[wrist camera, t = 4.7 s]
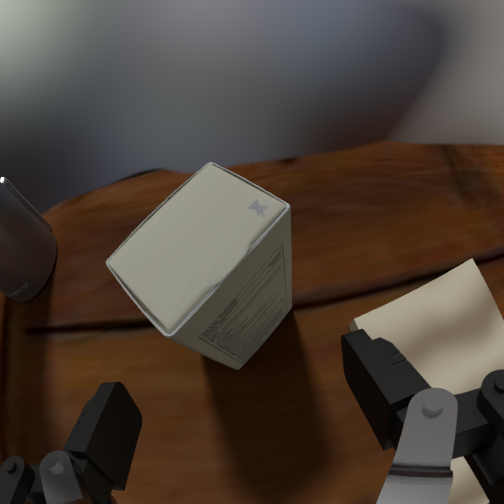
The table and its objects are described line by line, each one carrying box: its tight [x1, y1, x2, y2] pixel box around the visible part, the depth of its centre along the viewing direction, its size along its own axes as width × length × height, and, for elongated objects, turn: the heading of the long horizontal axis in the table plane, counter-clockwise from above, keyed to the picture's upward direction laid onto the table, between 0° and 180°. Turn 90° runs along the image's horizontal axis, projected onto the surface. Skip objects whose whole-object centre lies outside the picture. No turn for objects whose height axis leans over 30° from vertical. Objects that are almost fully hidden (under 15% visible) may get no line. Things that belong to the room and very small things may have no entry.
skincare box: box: [106, 162, 292, 370], centre depth 15 cm, size 6×4×12 cm
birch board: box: [348, 259, 504, 504], centre depth 14 cm, size 20×12×2 cm, turn 18°
